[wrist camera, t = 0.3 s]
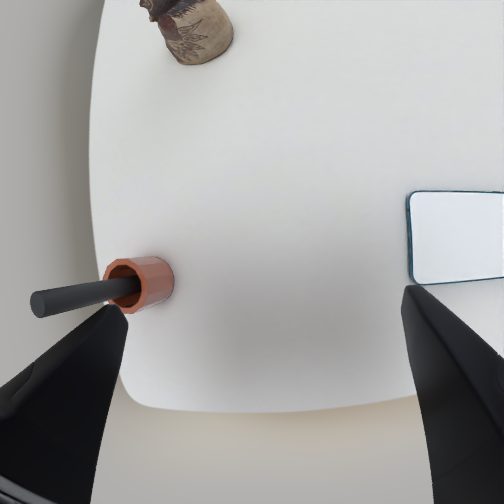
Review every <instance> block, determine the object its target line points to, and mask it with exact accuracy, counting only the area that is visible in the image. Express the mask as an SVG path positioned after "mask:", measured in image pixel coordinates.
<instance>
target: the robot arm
mask: <svg viewBox="0 0 504 504" xmlns="http://www.w3.org/2000/svg"><path fill="white" fill-rule="evenodd" d="M401 315H402V321H403V326H404V332H405V338H406V344H407V351H408V357H409V362H410V366H411V370H412V374H413V378H414V383H415V387H416V391H417V396H418V400H419V405H420V409H421V414H422V420H423V425H424V430H425V436H426V441H427V448H428V455H429V462H430V469H431V476H432V488H433V499H434V504H504V359H503V358H502V357H501V356H500V355H498V353H497V352H496V351H495V350H494V349H493V348H492V347H491V346H490V345H489V344H487V343H486V342H485V341H484V340H483V339H482V338H481V337H480V336H479V335H478V334H477V333H475V332H474V331H473V330H472V329H471V328H470V327H469V326H468V325H467V324H465V323H464V322H463V321H462V320H461V319H460V318H459V317H457V316H456V315H455V314H454V313H453V312H452V311H450V310H449V309H448V308H447V307H446V306H445V305H443V304H442V303H441V302H440V301H439V300H438V299H436V298H435V297H434V296H433V295H431V294H430V293H429V292H428V291H427V290H425V289H424V288H423V287H422V286H420V285H418V284H415V285H408V286H406V287H405V289H404V294H403V300H402V305H401ZM127 332H128V321H127V319H126V318H125V316H124V314H123V312H122V311H121V309H120V307H119V306H118V305H116V304H107V305H105V306H103V307H102V308H101V309H100V310H98V311H97V312H96V313H94V314H93V315H92V316H90V317H89V318H88V319H87V320H85V321H84V322H83V323H81V324H80V325H79V326H78V327H76V328H75V329H74V330H72V331H71V332H70V333H69V334H67V335H66V336H65V337H63V338H62V339H61V340H60V341H58V342H57V343H56V344H55V345H53V346H52V347H51V348H50V349H49V350H47V351H46V352H45V353H44V354H42V355H41V356H40V357H39V358H37V359H36V360H35V362H33V363H31V364H30V365H29V366H28V367H26V369H24V370H23V371H22V372H20V373H19V374H18V375H16V376H15V377H14V378H13V379H11V380H10V381H9V382H7V383H6V384H5V385H3V386H2V387H0V504H90V501H91V495H92V488H93V483H94V477H95V471H96V465H97V460H98V455H99V450H100V446H101V441H102V437H103V432H104V428H105V423H106V419H107V415H108V411H109V407H110V403H111V399H112V396H113V391H114V388H115V384H116V381H117V377H118V374H119V370H120V366H121V362H122V357H123V351H124V346H125V341H126V336H127Z"/></svg>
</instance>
